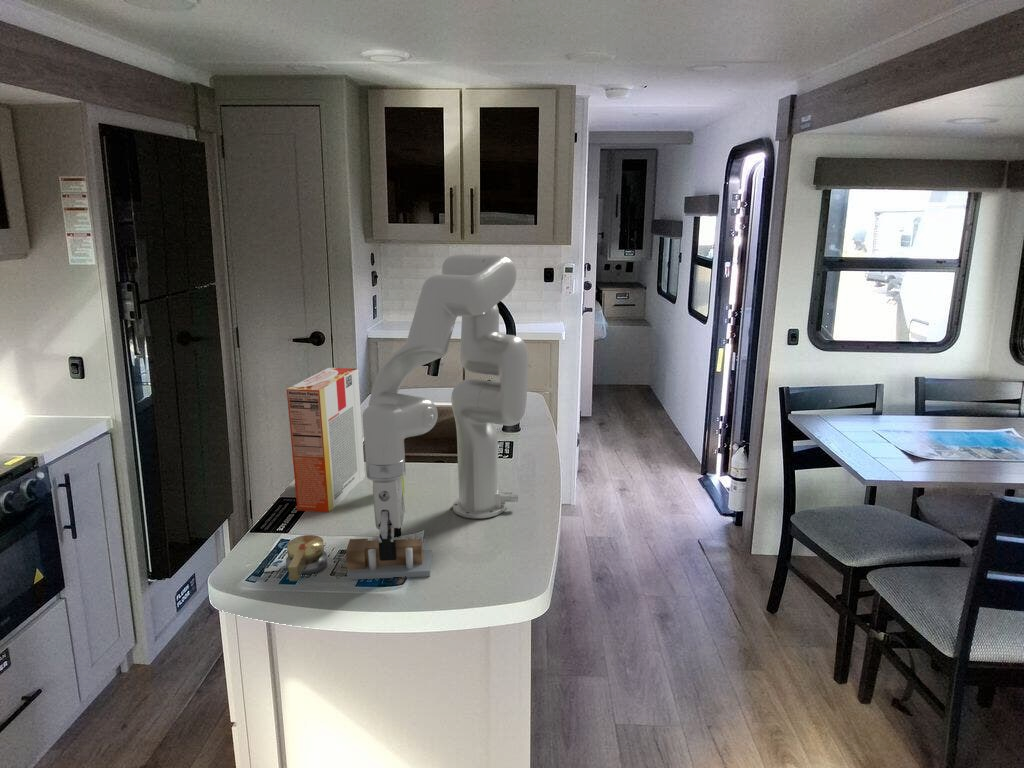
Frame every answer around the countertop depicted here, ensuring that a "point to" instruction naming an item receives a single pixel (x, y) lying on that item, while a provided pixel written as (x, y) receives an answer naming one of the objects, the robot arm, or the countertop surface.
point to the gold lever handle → (303, 553)
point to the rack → (393, 566)
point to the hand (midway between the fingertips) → (391, 548)
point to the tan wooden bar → (360, 558)
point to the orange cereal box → (326, 438)
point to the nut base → (307, 565)
